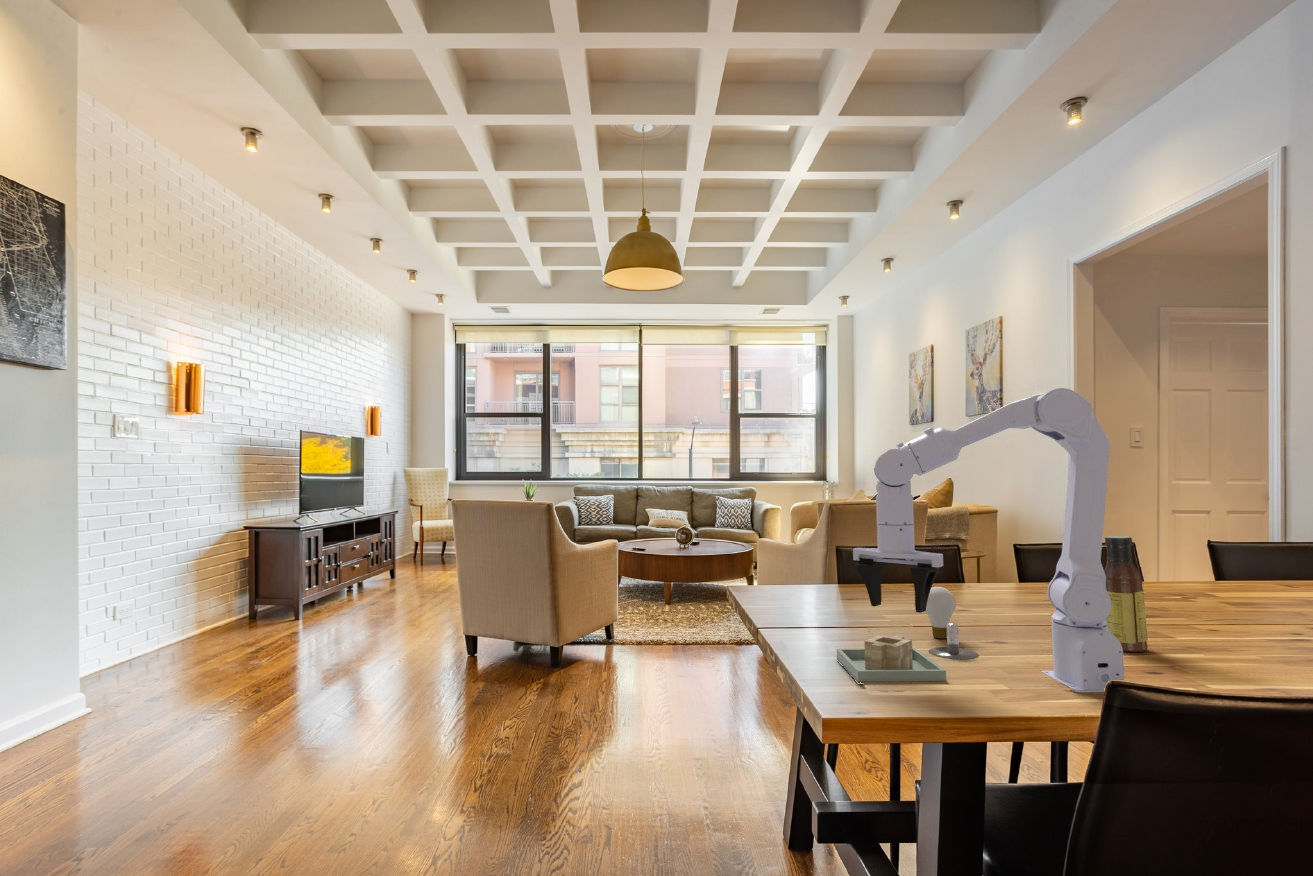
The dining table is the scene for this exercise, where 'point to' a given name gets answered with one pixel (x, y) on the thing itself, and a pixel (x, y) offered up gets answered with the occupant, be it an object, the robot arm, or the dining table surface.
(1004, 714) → the dining table surface
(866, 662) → the beige hollow block
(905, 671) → the tray
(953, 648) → the grey metal round stand
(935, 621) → the light bulb
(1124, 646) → the sauce bottle
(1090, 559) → the robot arm
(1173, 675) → the dining table surface
